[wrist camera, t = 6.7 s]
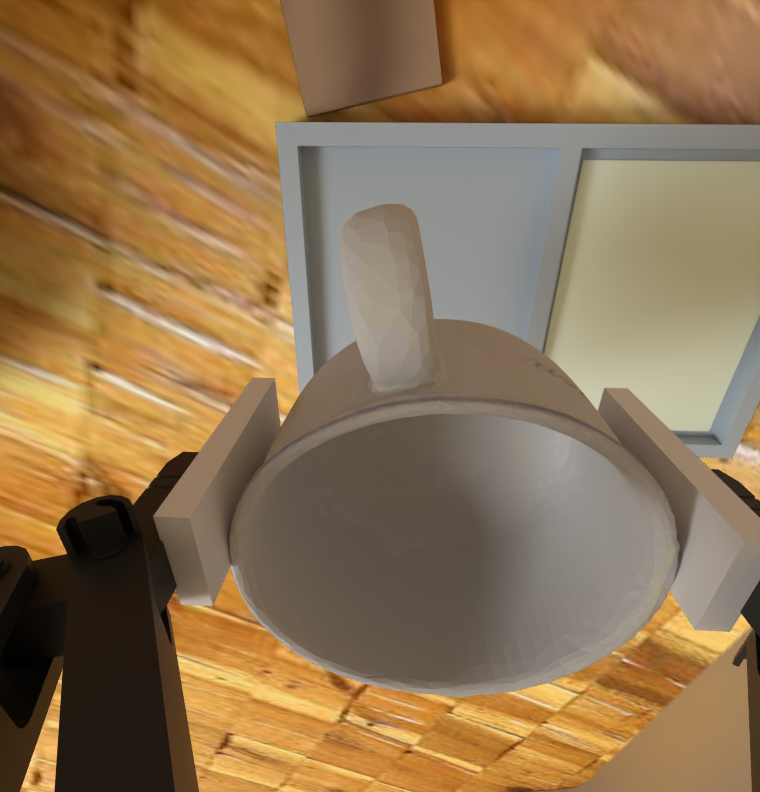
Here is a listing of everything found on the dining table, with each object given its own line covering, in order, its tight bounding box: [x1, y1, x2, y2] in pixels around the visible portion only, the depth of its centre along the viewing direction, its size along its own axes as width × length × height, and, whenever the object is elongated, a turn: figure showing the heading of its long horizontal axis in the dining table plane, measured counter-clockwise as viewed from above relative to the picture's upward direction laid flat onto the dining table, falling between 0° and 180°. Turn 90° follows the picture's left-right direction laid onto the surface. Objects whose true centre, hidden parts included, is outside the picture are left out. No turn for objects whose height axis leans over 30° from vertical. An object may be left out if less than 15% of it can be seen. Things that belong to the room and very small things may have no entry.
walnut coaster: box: [280, 0, 442, 118], centre depth 21 cm, size 7×7×1 cm
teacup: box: [229, 204, 680, 697], centre depth 13 cm, size 14×11×8 cm
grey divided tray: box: [275, 122, 760, 458], centre depth 26 cm, size 29×19×3 cm, turn 90°
